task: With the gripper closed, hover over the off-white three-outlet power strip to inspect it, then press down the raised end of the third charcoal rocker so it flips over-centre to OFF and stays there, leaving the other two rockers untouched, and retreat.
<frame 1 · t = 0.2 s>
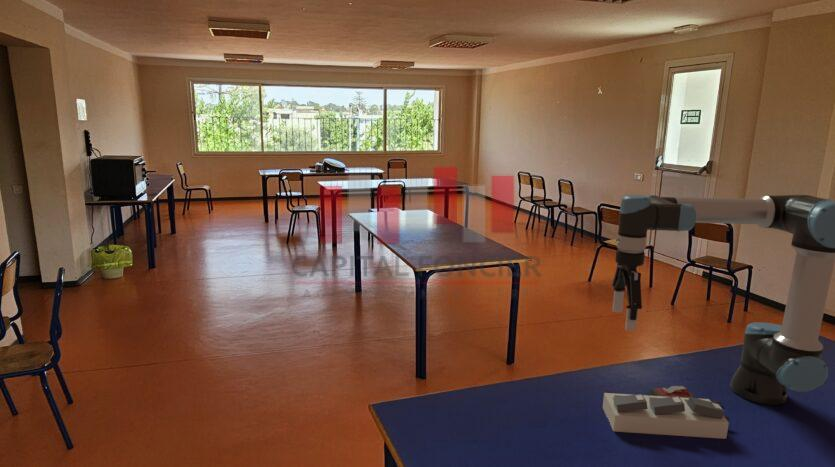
hand: (623, 320, 150), 28 cm above the table, fingers open, 13 cm apart
rocker 1: (705, 407, 143), point 7 cm above the table, hinge at -12.0°, touching power strip
power strip: (661, 422, 148), on the table
walkie-talkie: (682, 402, 160), on the table
rocker 3: (629, 402, 145), point 7 cm above the table, hinge at 12.0°, touching power strip
rocker 2: (666, 405, 144), point 7 cm above the table, hinge at 12.0°, touching power strip
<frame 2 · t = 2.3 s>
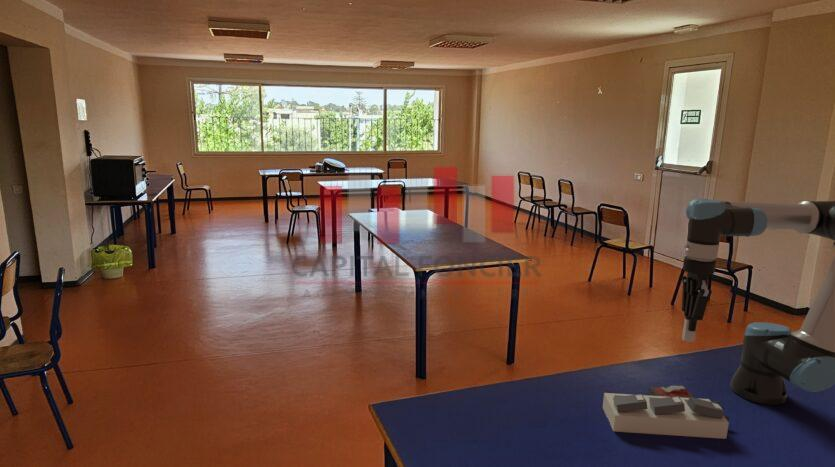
hand: (687, 340, 142), 26 cm above the table, fingers closed
nothing on the table moved.
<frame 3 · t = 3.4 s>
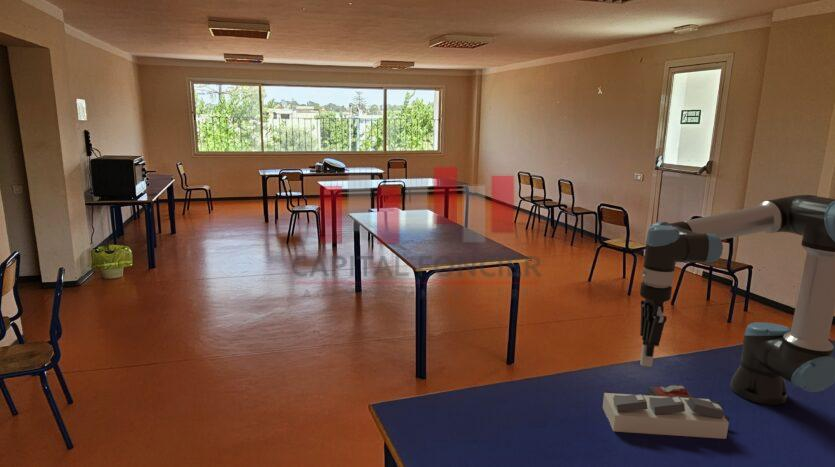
hand: (645, 365, 142), 19 cm above the table, fingers closed
nothing on the table moved.
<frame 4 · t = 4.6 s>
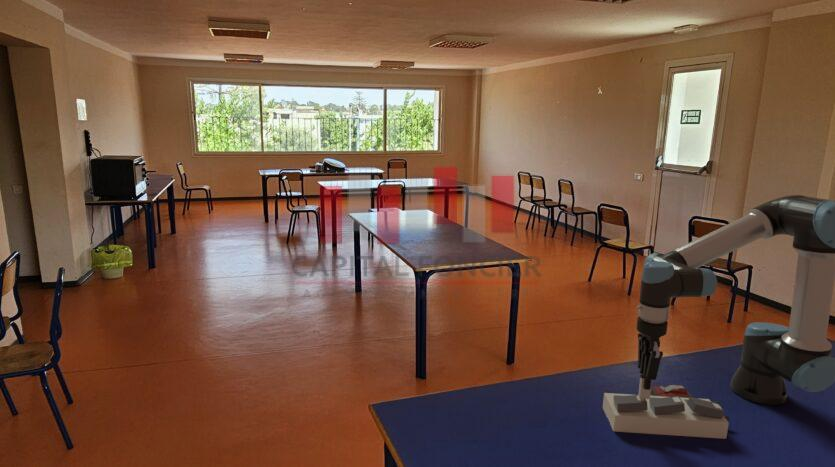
hand: (644, 397, 144), 9 cm above the table, fingers closed
rocker 3: (630, 402, 145), point 7 cm above the table, hinge at 8.1°, touching gripper
everything else where it was.
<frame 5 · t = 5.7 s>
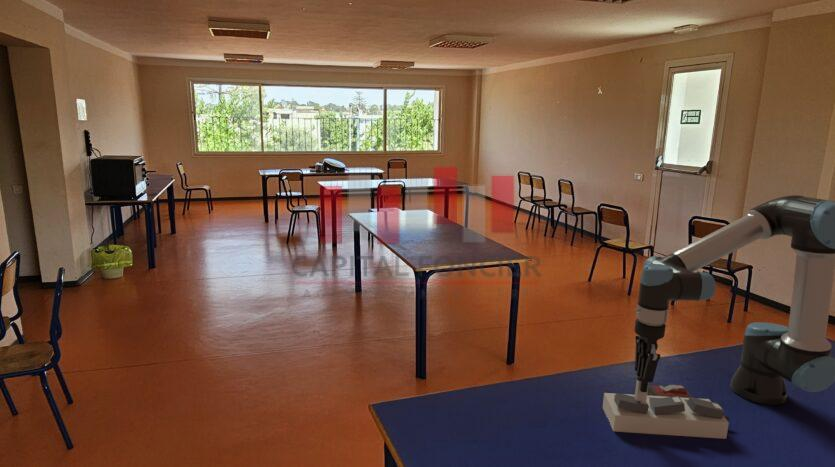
hand: (640, 399, 145), 8 cm above the table, fingers closed
rocker 3: (631, 402, 145), point 7 cm above the table, hinge at -10.1°, touching gripper
everything else where it was.
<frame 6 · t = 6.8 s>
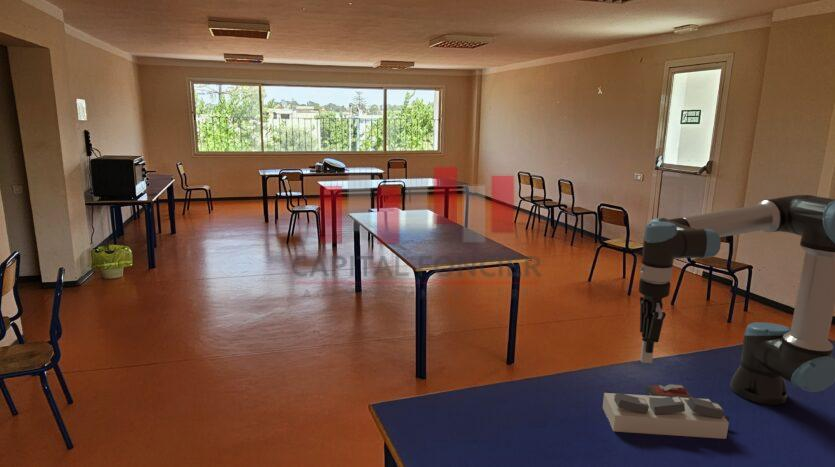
hand: (646, 361, 142), 20 cm above the table, fingers closed
rocker 3: (631, 402, 145), point 7 cm above the table, hinge at -11.6°
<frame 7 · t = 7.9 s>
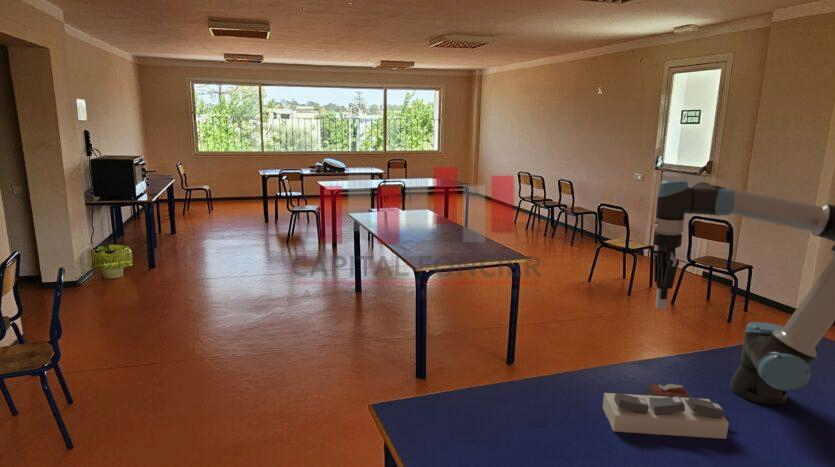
hand: (660, 307, 157), 29 cm above the table, fingers closed
rocker 3: (631, 402, 145), point 7 cm above the table, hinge at -11.8°, touching power strip
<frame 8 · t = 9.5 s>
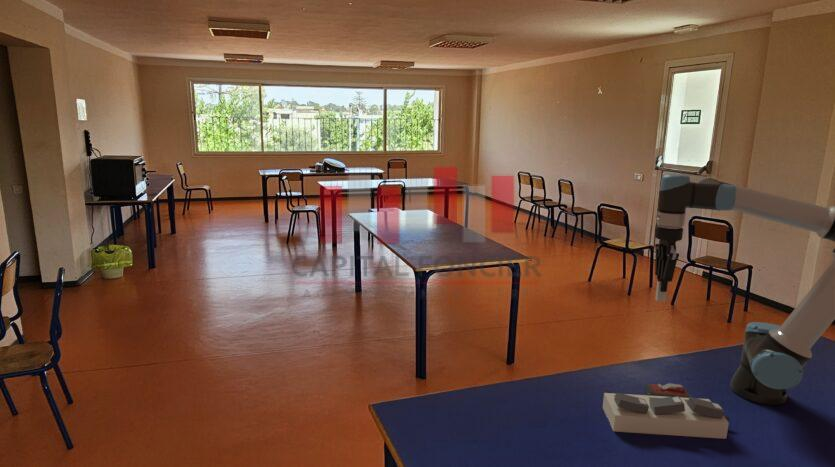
hand: (660, 300, 160), 30 cm above the table, fingers closed
at the end: rocker 3 at -12° (first picture: +12°); rocker 2 at +12° (first picture: +12°); rocker 1 at -12° (first picture: -12°) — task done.
